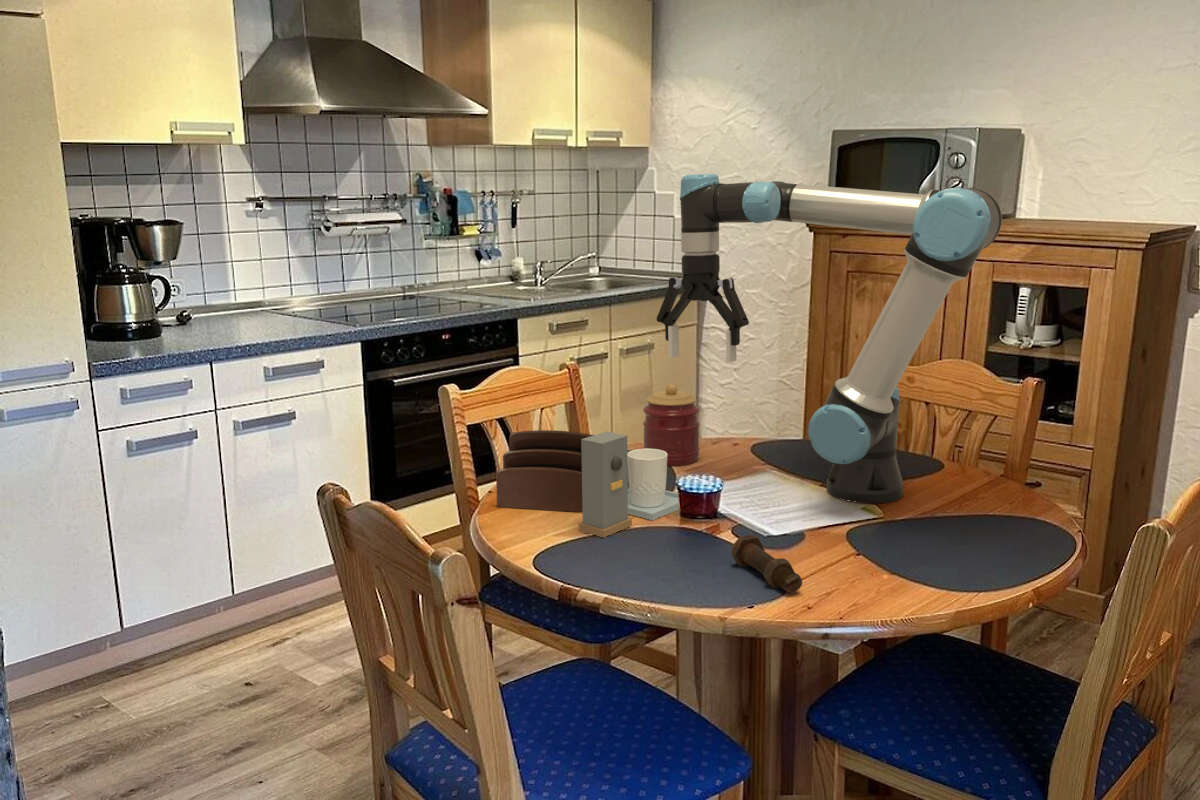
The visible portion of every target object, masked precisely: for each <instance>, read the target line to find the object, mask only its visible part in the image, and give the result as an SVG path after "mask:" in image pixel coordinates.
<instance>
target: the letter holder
mask: <svg viewBox="0 0 1200 800" xmlns="http://www.w3.org/2000/svg"><path fill="white" fill-rule="evenodd" d="M594 435H595V434H590V433H584V432H576V431H568V430H555V429H554V430H552V429H550V430H549V429H548V430H546V429H544V430H543V429H542V430H541V429H540V430H522V431H521V430H520V431H516V432H515V431H514V432H512V433H510V435H509V437H508V438H509V439H508V441H509V443H508V444H509V451H506V452H504V454H503V456H502V465H503V466H502V469H499V470H497V472H496V473H495V474H496V475H495V479H496V482H495V483H496V484H495V485H496V507H497V508H504V509H519V510H520V509H521V510H536V511H548V512H549V511H550V512H551V511H552V512H565V513H566V512H567V513H579V512H583V506H582V447H581V439H584V438H587V437H590V436H594Z"/></svg>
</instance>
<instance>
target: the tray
mask: <svg viewBox="0 0 1200 800" xmlns="http://www.w3.org/2000/svg"><path fill="white" fill-rule="evenodd" d="M678 493H679V492H674V491H671V490H666V489H665V503H664V504H662V505H661V506H657V507H650V508H647V507H638V506H635V505H633V504H631V499H630V490H629V488H628V514H631V515H630V516H632V515H635V516H638V517H637V518H639V517H643V518H646V519H645V520H647V519H649V520H648V521H651V520H654V521H656V520H657V518H658V519H660V518H663V517H665V516H667V515H669V513H670V514H672V513H674V512H676V511H678V510H680V509H679V501H678ZM664 515H665V516H664ZM635 516H634V517H635ZM662 516H663V517H662ZM659 517H660V518H659ZM643 518H642V519H643ZM655 519H656V520H655Z"/></svg>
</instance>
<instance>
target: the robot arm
mask: <svg viewBox="0 0 1200 800" xmlns="http://www.w3.org/2000/svg"><path fill="white" fill-rule="evenodd" d="M679 201H680V222H681V223H680V226H681V228H680V231H681V233H680V237H681V238H680V247H681V250H680V251H681V253H683V254H684V255H682V256H681V272H682V278H680V277H679V276H675V277H670V278H669V279H668V288H667V292H666V294H665V296H664V298H663V301H662V304H661V306H660V308H659V311H658V314H657V316H656V322H658V323H661V324H663V325H664V332H665V335H664V336H665V340H666V341H667V342H668V358H669V359H673V358H676V357H679V356H680V338H679V337H680V336H679V335H680V333H679V328H680V327H679V324H677V321H678V320H679V317H680V316H681V315H682V314H683V313H684V311H685V310H686V308H687V307H688V306H689V304H690V303H691V302H693V301H695V302H696V301H701V302H707V301H708V302H709V303H710V304H712V306H713V307H714V309H715V310H716V311H717V312H718V314H719V315H720V316H721V318H722V319H723V321H724V323H725V324H726V326H728V327H729V328H728V329H725V351H726V352H725V353H726V354H725V355H726V357H725V359H726V360H725V361H726V363H728V364H730V363H733V362H736V361H737V346H738V345H740V343H741V336H740V335H741V333H740V332H741V331H740V330H741V328H743V327H745V326H748V325H749V324H750V323H749V322H750V321H749V318H748V316H747V314H746V311H745V310H744V307H743V305H742V302H741V300H740V299H739V295H738V294H737V291H736V288H735V281H734V278H733V277H729V278H725V279H720V270H721V269H720V267H721V265H720V255H719V254H717V252H719V251H720V223H721V224H725V223H738V224H739V223H740V224H742V223H744V224H745V223H754V224H759V223H761V224H762V223H768V222H769V223H770V222H773V221H778V222H779V221H780V222H785V223H786V222H788V223H801V224H807V225H808V224H811V225H819V226H828V227H838V228H847V229H857V230H865V231H873V232H874V231H875V232H884V233H893V234H901V235H911V236H910V237H909V239H908V241H907V244H906V245H905V247H904V249H903V251H904V254H905V258H906V261H907V263H906V265H905V266H904V268H903V270H902V272H901V274H900V276H899V278H898V280H897V281H896V284H895V285H894V287H893V289H892V291H891V293H890V294H889V296H888V299H887V301H886V303H885V305H884V306H883V308H882V310H881V312H880V313H879V316H878V318H877V320H876V322H875V324H874V325H873V327H872V329H871V331H870V333H869V335H868V337H867V339H866V341H865V343H864V345H863V347H862V349H861V351H860V353H859V354H858V356H857V359H856V360H855V362H854V363H853V366H852V368H851V370H850V372H849V374H848V376H845V377H842V378H838V379H837V380H836V381H835V383H834V385H833V387H832V389H831V391H830V392H829V394H828V396H827V397H826V400H825V402H824V403H823V406H820V407H819V408H818V409H816V410H815V412H814V413H813V415H812V416H811V418H810V420H809V423H808V428H807V430H808V438H809V440H810V441H809V442H810V443H811V446H812V448H813V449H814V451H815V452H816V454H818V455H819V456H820V457H821V458H823V459H824V460H826V461H827V462H830V463H832V465H831V468H830V470H829V473H828V477H827V479H826V491H828V492H829V493H830V494H831V495H830V494H829V493H828V492H827V493H828V494H829V495H830V496H832V495H833V496H832V497H834V496H835V497H834V498H836V497H838V498H837V499H839V498H841V499H840V500H842V499H844V500H843V501H846V500H850V501H849V502H851V501H856V502H855V503H858V502H860V503H859V504H886V503H891V502H896V501H898V500H900V499H902V498H903V496H904V481H903V477H902V475H901V474H902V473H901V471H900V467H899V464H898V461H897V446H898V445H897V443H898V429H899V412H900V411H899V410H900V403H901V398H900V390H899V388H898V385H899V382H900V381H901V379H902V376H903V375H904V374H905V371H906V369H907V368H908V366H909V365H910V362H911V360H912V359H913V356H914V355H915V353H916V351H917V350H918V347H919V346H920V344H921V342H922V340H923V338H924V337H925V335H926V333H927V332H928V330H929V328H930V326H931V324H932V322H933V320H934V318H935V317H936V315H937V313H938V311H939V309H940V308H941V305H942V304H943V302H944V300H945V298H946V296H947V294H948V293H949V291H950V289H951V288H952V285H953V284H954V283H956V282H958V281H962V280H964V279H967V277H968V275H969V273H970V272H971V270H972V268H973V266H974V264H975V263H976V261H977V259H978V257H979V256H980V254H981V251H982V250H984V249H986V248H988V247H989V246H990V245H991V244H993V242H994V241H995V240H996V239H997V237H998V236H999V234H1000V232H1001V228H1002V225H1003V212H1002V209H1001V206H1000V205H999V203H998V201H997V200H996V199H995V197H993V195H991V194H990V193H989V192H987V191H986V190H983V189H979V188H975V187H965V188H962V187H950V188H946V189H941V190H940V189H931V190H929V191H928V192H927V193H926V194H922V193H921V194H920V193H910V192H909V193H908V192H896V191H885V190H874V189H863V188H861V189H860V188H851V187H840V186H838V187H836V186H829V185H828V186H825V185H813V184H804V183H803V184H802V183H799V184H797V183H792V182H791V183H790V182H785V181H776V180H774V181H753V182H736V183H733V182H732V183H722V182H720V179H719V175H718V174H716V173H702V174H699V173H697V174H696V173H695V174H685V175H684V176H683V177H682V178H681V180H680V196H679ZM681 288H683V290H684V291H683V292H682V294H681V295H680V297H679V299H678V301H677V303H675V302H676V300H677V296H678V294H679V292H680V289H681ZM719 289H721V290H722V291H723V295H724V297H725V299H726V301H727V303H728V304H727V303H726V301H725V300H724V299H723V296H722V294H721V293H720V291H719ZM674 304H675V305H674Z"/></svg>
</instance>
